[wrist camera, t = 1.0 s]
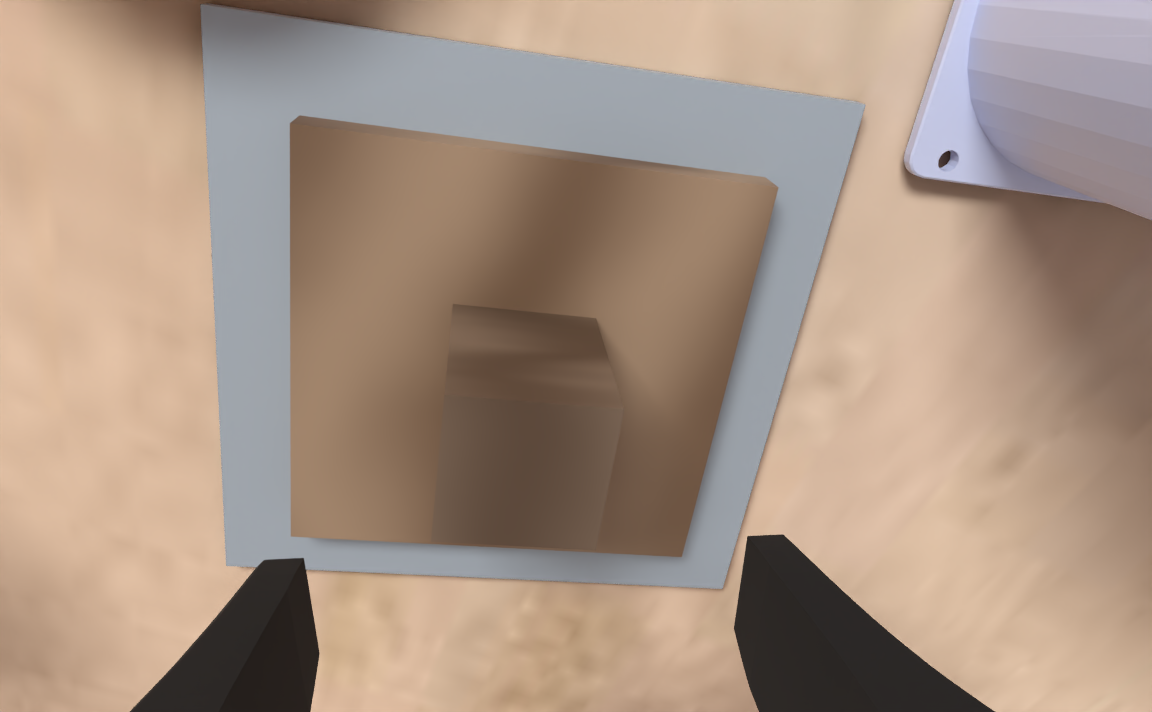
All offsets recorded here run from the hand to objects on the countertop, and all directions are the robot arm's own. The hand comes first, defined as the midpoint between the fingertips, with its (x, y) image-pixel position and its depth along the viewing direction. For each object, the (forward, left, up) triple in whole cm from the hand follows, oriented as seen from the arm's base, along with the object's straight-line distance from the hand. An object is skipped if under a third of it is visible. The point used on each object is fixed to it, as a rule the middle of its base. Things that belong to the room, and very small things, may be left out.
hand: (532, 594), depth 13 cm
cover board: (0, 0, -9) cm, 9 cm away
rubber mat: (0, 0, -9) cm, 9 cm away
